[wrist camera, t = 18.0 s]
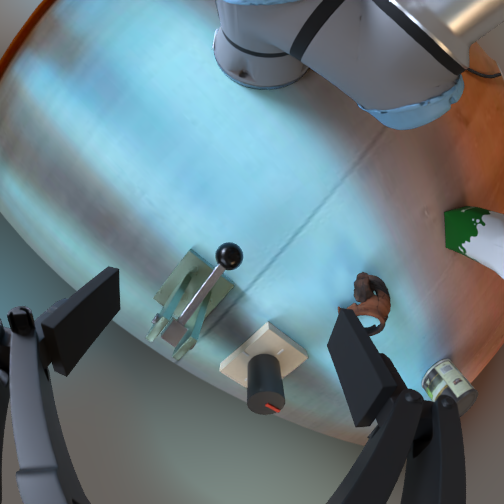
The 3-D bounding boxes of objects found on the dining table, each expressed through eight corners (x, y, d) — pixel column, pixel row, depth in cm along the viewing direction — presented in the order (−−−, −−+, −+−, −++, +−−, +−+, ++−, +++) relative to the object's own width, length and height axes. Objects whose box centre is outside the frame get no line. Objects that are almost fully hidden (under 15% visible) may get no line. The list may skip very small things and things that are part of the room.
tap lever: (223, 239, 37) (230, 234, 34) (243, 255, 38) (252, 252, 34) (156, 329, 33) (155, 334, 29) (178, 345, 33) (180, 352, 30)
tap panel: (267, 320, 46) (268, 329, 43) (306, 349, 48) (308, 358, 45) (220, 362, 48) (219, 371, 46) (258, 387, 50) (259, 396, 48)
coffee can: (425, 394, 54) (447, 427, 41) (417, 377, 52) (442, 414, 38) (453, 370, 52) (479, 401, 39) (448, 351, 50) (478, 384, 36)
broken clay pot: (392, 299, 46) (393, 336, 40) (346, 307, 51) (342, 342, 45) (382, 252, 40) (385, 291, 34) (328, 263, 45) (323, 301, 39)
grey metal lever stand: (190, 248, 42) (163, 285, 28) (234, 282, 44) (228, 333, 30) (154, 295, 44) (121, 343, 30) (195, 326, 46) (178, 382, 32)
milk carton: (442, 252, 43) (513, 292, 24) (440, 207, 40) (519, 231, 21) (470, 242, 42) (537, 275, 23) (468, 200, 40) (542, 220, 21)
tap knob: (240, 366, 46) (239, 405, 36) (263, 348, 45) (265, 387, 35) (264, 381, 47) (266, 420, 37) (286, 364, 46) (293, 403, 36)
